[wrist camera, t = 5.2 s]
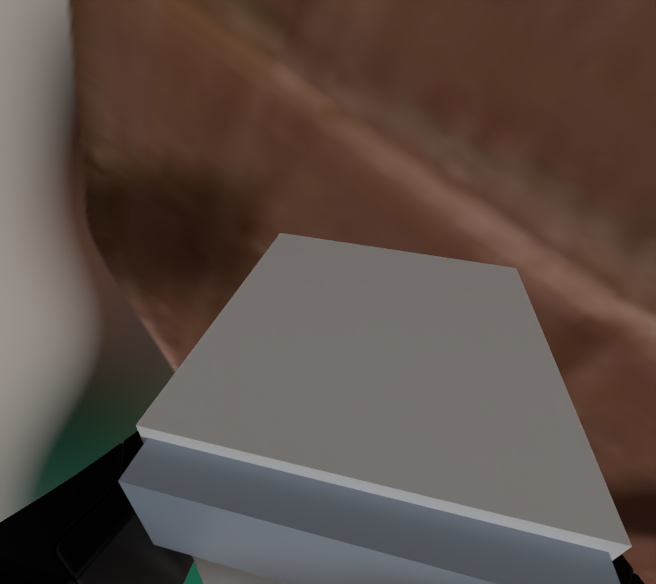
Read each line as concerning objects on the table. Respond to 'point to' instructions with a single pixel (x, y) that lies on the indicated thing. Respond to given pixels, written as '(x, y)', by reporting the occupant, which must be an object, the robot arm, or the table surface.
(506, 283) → the plug block
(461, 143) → the table surface
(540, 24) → the table surface
